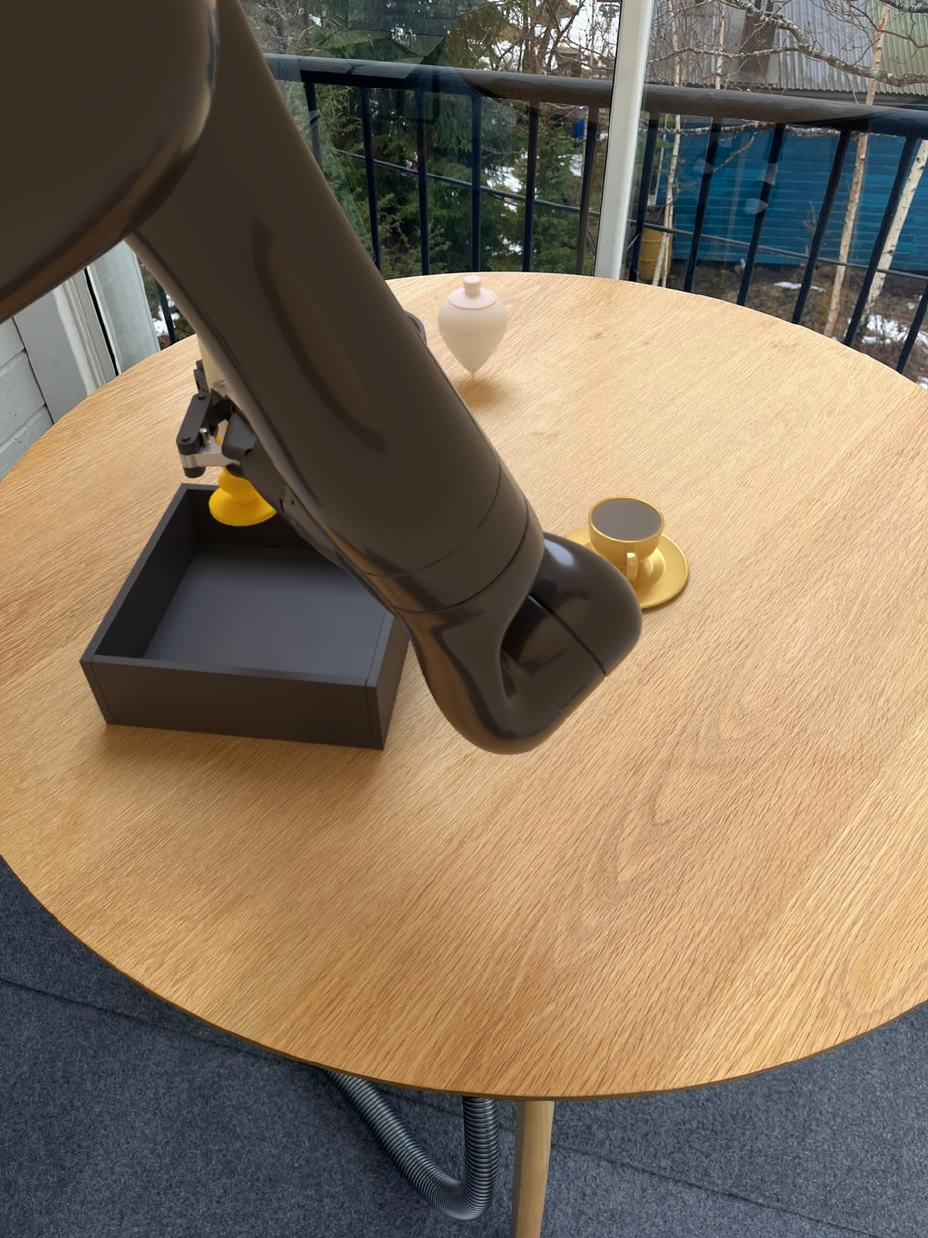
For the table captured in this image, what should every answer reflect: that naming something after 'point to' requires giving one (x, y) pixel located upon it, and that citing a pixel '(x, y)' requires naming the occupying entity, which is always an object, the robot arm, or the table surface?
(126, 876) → the table surface
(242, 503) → the candle
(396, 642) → the bin
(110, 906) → the table surface
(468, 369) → the spinning top
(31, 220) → the robot arm
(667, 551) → the cup
